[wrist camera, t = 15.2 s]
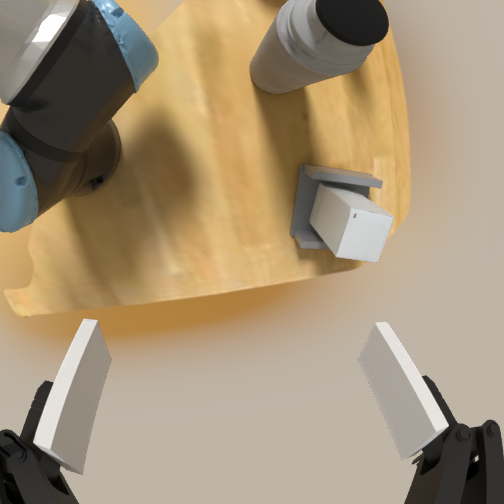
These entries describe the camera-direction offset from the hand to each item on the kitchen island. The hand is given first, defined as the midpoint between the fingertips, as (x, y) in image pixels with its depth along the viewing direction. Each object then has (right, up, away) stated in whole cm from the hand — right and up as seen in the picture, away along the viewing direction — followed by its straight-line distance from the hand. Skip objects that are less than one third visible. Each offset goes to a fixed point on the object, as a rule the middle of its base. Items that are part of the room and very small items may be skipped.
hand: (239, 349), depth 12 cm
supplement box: (+14, +12, +34) cm, 39 cm away
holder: (+14, +13, +34) cm, 39 cm away
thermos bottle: (+4, +32, +23) cm, 40 cm away
